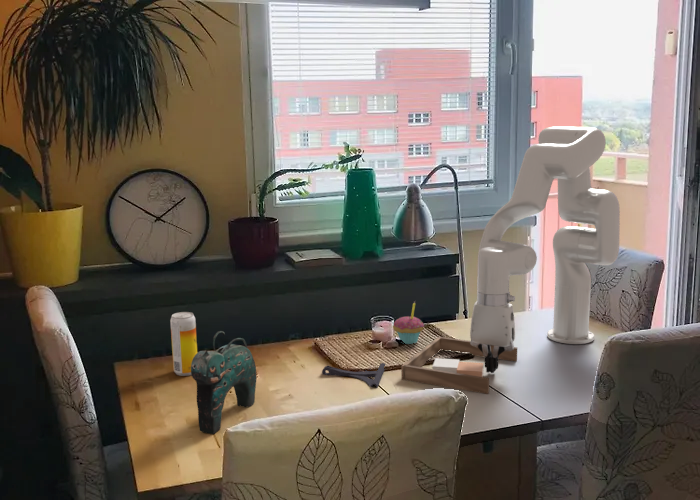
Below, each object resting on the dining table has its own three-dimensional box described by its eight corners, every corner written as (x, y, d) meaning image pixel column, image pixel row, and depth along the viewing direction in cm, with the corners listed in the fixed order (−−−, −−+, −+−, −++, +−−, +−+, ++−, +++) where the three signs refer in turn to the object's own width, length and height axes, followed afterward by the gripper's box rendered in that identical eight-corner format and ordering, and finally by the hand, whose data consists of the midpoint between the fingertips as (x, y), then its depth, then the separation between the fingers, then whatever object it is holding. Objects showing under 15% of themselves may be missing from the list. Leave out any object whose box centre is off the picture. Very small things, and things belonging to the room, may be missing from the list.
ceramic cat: (213, 439, 152) (207, 344, 148) (186, 433, 154) (180, 340, 151) (262, 402, 170) (259, 317, 166) (238, 398, 172) (234, 314, 168)
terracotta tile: (459, 373, 187) (459, 361, 186) (483, 374, 186) (483, 363, 185) (456, 381, 181) (456, 369, 181) (481, 383, 180) (482, 371, 179)
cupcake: (428, 339, 212) (429, 298, 210) (414, 348, 205) (414, 305, 203) (402, 335, 217) (402, 294, 214) (387, 343, 210) (387, 301, 207)
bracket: (328, 366, 194) (328, 356, 193) (385, 369, 191) (385, 358, 191) (316, 387, 180) (315, 376, 180) (377, 390, 177) (377, 379, 177)
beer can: (203, 369, 191) (199, 312, 188) (188, 378, 186) (184, 319, 183) (183, 366, 194) (180, 310, 191) (168, 374, 188) (164, 316, 185)
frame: (438, 348, 204) (438, 336, 203) (517, 360, 194) (517, 347, 193) (401, 379, 182) (401, 365, 182) (487, 394, 172) (487, 379, 172)
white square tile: (435, 369, 190) (435, 358, 189) (459, 371, 188) (459, 359, 188) (432, 377, 184) (432, 366, 183) (457, 379, 183) (457, 367, 182)
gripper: (527, 298, 181) (525, 370, 184) (468, 291, 188) (467, 361, 191) (519, 305, 174) (517, 380, 178) (458, 298, 181) (457, 371, 185)
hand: (491, 370), depth 185 cm, fingers closed
